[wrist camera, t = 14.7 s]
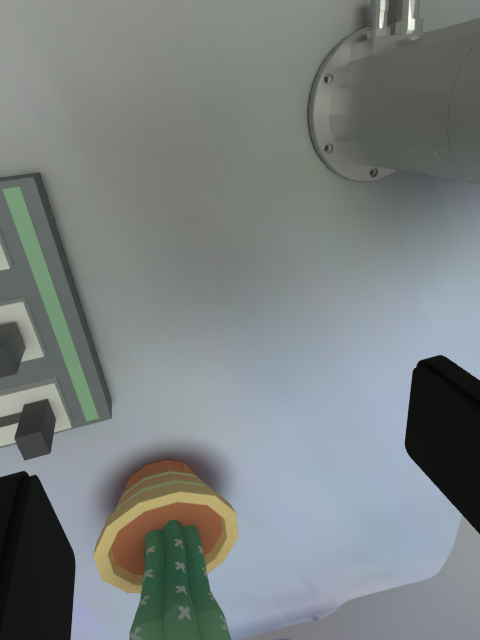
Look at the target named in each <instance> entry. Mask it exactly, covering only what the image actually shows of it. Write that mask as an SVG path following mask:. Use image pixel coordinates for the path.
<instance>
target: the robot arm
mask: <svg viewBox="0 0 480 640" xmlns="http://www.w3.org/2000/svg"><path fill="white" fill-rule="evenodd" d="M395 2H396V19H395V23H392V24H387V22H388V11H389V0H371V13H370V14H371V26H370V27H366V28H363V29H361V30H358V31H356V32H354V33H352V34H350V35H349V36H347V37H346V38H345V39H343V40H342V41H340V43H339V44H338V45H337V46H336V47H335V48H334V49H333V50H332V51H331V52H330V53H329V55H328V56H327V58H326V59H325V61H324V62H323V63H322V65H321V67H320V69H319V72H318V74H317V76H316V78H315V81H314V84H313V88H312V91H311V95H310V102H309V128H310V133H311V138H312V141H313V144H314V146H315V149H316V151H317V153H318V155H319V156H320V158H321V159H322V161H323V162H324V163H325V164H326V165H327V166H328V168H329V169H330V170H332V171H333V172H335V173H336V174H338V175H339V176H341V177H344V178H347V179H350V180H354V181H359V182H371V181H375V180H380V179H383V178H385V177H387V176H389V175H392V174H393V173H395V172H396V171H397V170H399V171H405V172H411V173H417V174H423V175H429V176H435V177H441V178H447V179H453V180H459V181H465V182H471V183H476V184H480V18H478V19H474V20H471V21H467V22H463V23H460V24H456V25H453V26H449V27H445V28H442V29H438V30H435V31H431V32H423V33H422V27H423V19H421V18H419V6H420V0H395ZM324 77H326V82H324ZM325 146H326V147H327V148H326V150H325ZM370 171H371V172H370ZM405 448H406V451H407V453H408V455H409V456H410V457H411V459H412V460H413V461H414V462H415V463H416V464H417V465H418V466H419V467H420V468H421V470H422V471H423V472H424V473H425V474H426V475H427V476H428V477H429V478H430V480H431V481H432V482H433V483H434V484H435V485H436V486H437V487H438V488H439V489H440V491H441V492H442V493H443V494H444V495H445V496H446V497H447V498H448V499H449V501H450V502H451V503H452V504H453V505H454V506H455V507H456V508H457V509H458V510H459V512H460V513H461V514H462V515H463V516H464V517H465V518H466V519H467V520H468V522H469V523H470V524H471V525H472V526H473V527H474V528H475V529H476V530H477V531H478V533H479V534H480V380H478V379H477V378H475V377H474V376H472V375H471V374H470V373H468V372H467V371H465V370H464V369H462V368H461V367H459V366H458V365H457V364H455V363H454V362H452V361H451V360H449V359H448V358H447V357H445V356H442V355H438V356H435V357H431V358H428V359H424V360H421V361H419V362H418V364H417V367H416V368H414V370H413V374H412V383H411V392H410V401H409V410H408V419H407V428H406V437H405ZM74 582H75V556H74V552H73V550H72V547H71V545H70V543H69V541H68V539H67V537H66V535H65V533H64V531H63V528H62V526H61V524H60V522H59V520H58V518H57V516H56V514H55V511H54V509H53V507H52V505H51V503H50V501H49V499H48V497H47V495H46V492H45V490H44V488H43V486H42V484H41V482H40V480H39V478H38V476H37V475H33V476H29V475H28V473H27V472H25V471H21V472H18V473H14V474H11V475H7V476H3V477H0V640H70V639H71V625H72V611H73V596H74Z"/></svg>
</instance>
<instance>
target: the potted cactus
mask: <svg viewBox="0 0 480 640" xmlns="http://www.w3.org/2000/svg"><path fill="white" fill-rule="evenodd" d="M123 492H124V494H123V495H122V496H121V498H120V500H119V503H118V505H117V507H116V509H115V511H114V512H113V513H112V514H110V515H109V517H108V519H107V521H106V524H105V526H104V528H103V530H102V532H101V534H100V537H99V539H98V541H97V544H96V547H95V551H94V555H93V556H94V559H95V562H96V565H97V568H98V570H99V573H100V576H101V579H102V580H103V581H105V582H107V583H109V584H111V585H113V586H115V587H117V588H119V589H121V590H123V591H125V592H127V593H141V599H140V603H139V606H138V609H137V612H136V615H135V618H134V621H133V624H132V627H131V630H130V640H231V637H230V634H229V630H228V627H227V623H226V620H225V616H224V614H223V612H222V610H221V608H220V607H219V605H218V603H217V602H216V600H215V598H214V596H213V595H212V593H211V591H210V587H209V581H208V576H207V573H209V572H210V571H211V570H213V569H214V568H215V567H217V566H218V565H220V564H221V563H222V562H224V560H225V558H226V557H227V555H228V553H229V552H230V550H231V548H232V547H233V545H234V543H235V542H236V540H237V538H238V528H237V518H236V512H235V511H234V509H233V508H232V506H231V504H230V503H229V502H228V501H226V500H225V499H224V498H223V497H222V496H220V495H219V494H218V493H217V492H216V491H214V490H213V489H212V488H211V487H209V486H208V485H206V484H205V483H204V482H203V481H202V480H200V479H199V478H198V477H197V476H196V474H195V471H194V470H192V469H191V468H190V467H189V466H188V465H186V464H185V463H184V462H178V461H172V460H162V461H158V462H154V463H151V464H147V465H145V466H144V467H142V468H141V469H140V470H138V471H137V472H136V473H134V474H133V475H132V476H130V478H129V480H128V482H127V485H126V487H125V489H124V491H123Z"/></svg>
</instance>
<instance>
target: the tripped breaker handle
mask: <svg viewBox="0 0 480 640" xmlns="http://www.w3.org/2000/svg"><path fill="white" fill-rule="evenodd" d="M25 349H26V348H25V345H24V343H23V340H22V338H21V335H20V333H19V330H18V328H17V326H16V323H11V324H6V325H1V326H0V378H2V377H6V376H11V375H15V374H17V371H18V368H19V366H20V363H21V360H22V357H23V354H24V352H25Z"/></svg>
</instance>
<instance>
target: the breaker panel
mask: <svg viewBox="0 0 480 640" xmlns="http://www.w3.org/2000/svg"><path fill="white" fill-rule="evenodd" d="M11 323H16V326H17V328H18V330H19V333H20V335H21V338H22V340H23V343H24V345H25V348H26V349H25V352H24V354H23V357H22V360H21V363H20V366H19V368H18V371H17V374H15V375H11V376H6V377H2V378H0V448H2V447H6V446H10V445H13V444H17V446H18V448H19V450H20V452H21V454H22V456H23V458H24V460H28V459H32V458H35V457H39V456H43V455H46V454H50V452H51V446H52V440H53V434H55V433H59V432H63V431H66V430H70V429H74V428H78V427H81V426H85V425H89V424H93V423H97V422H100V421H104V420H108V419H112V402H111V398H110V394H109V391H108V388H107V385H106V382H105V379H104V375H103V372H102V369H101V366H100V363H99V360H98V356H97V353H96V350H95V347H94V344H93V341H92V337H91V334H90V331H89V328H88V325H87V322H86V318H85V315H84V312H83V309H82V306H81V303H80V300H79V296H78V293H77V290H76V287H75V284H74V281H73V277H72V274H71V271H70V268H69V265H68V262H67V258H66V255H65V252H64V249H63V246H62V243H61V239H60V236H59V233H58V230H57V227H56V224H55V220H54V217H53V214H52V211H51V208H50V205H49V201H48V198H47V195H46V192H45V189H44V186H43V182H42V179H41V176H40V173H33V174H26V175H19V176H12V177H4V178H0V326H1V325H6V324H11Z"/></svg>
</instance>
